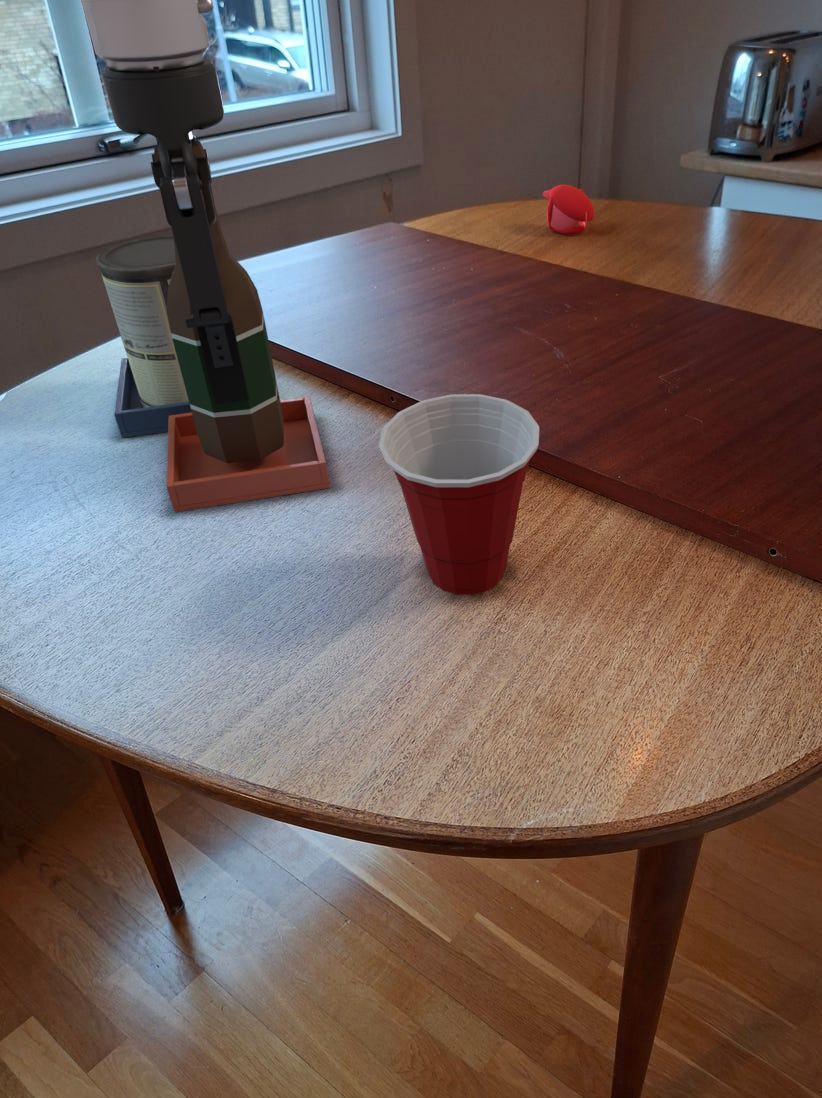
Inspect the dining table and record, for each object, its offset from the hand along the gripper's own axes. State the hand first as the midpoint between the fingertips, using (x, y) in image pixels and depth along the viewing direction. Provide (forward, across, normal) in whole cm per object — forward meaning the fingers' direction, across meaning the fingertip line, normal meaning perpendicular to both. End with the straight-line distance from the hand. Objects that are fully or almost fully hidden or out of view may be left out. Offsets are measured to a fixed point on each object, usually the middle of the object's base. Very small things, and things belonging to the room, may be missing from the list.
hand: (230, 378), depth 74 cm
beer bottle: (+6, 0, 0) cm, 6 cm away
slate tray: (+8, +15, +5) cm, 18 cm away
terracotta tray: (+8, 0, 0) cm, 8 cm away
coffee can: (+8, +15, +5) cm, 18 cm away
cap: (+8, +55, -49) cm, 74 cm away
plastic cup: (+8, -22, -15) cm, 28 cm away
